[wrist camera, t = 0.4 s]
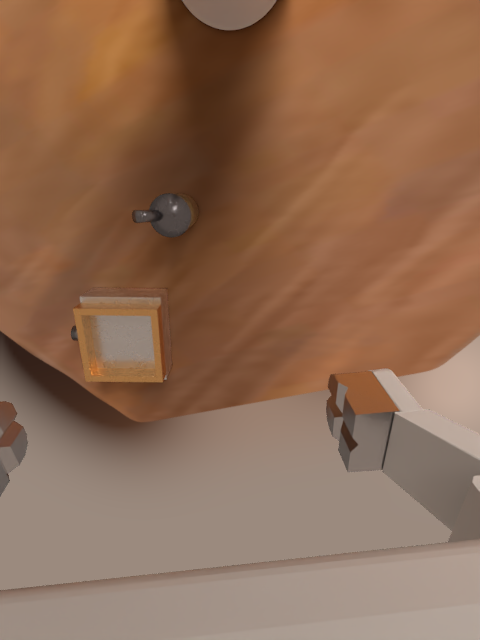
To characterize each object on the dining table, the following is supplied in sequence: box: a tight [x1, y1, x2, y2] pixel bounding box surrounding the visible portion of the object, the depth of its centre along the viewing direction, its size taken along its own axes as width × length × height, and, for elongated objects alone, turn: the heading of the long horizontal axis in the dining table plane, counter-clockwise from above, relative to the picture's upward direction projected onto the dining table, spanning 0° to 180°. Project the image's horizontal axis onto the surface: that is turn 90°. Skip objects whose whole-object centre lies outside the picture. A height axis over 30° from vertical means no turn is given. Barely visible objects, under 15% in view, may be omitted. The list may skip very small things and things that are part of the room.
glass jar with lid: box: [132, 193, 199, 237], centre depth 45 cm, size 5×7×12 cm
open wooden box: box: [71, 288, 172, 382], centre depth 54 cm, size 14×15×8 cm
